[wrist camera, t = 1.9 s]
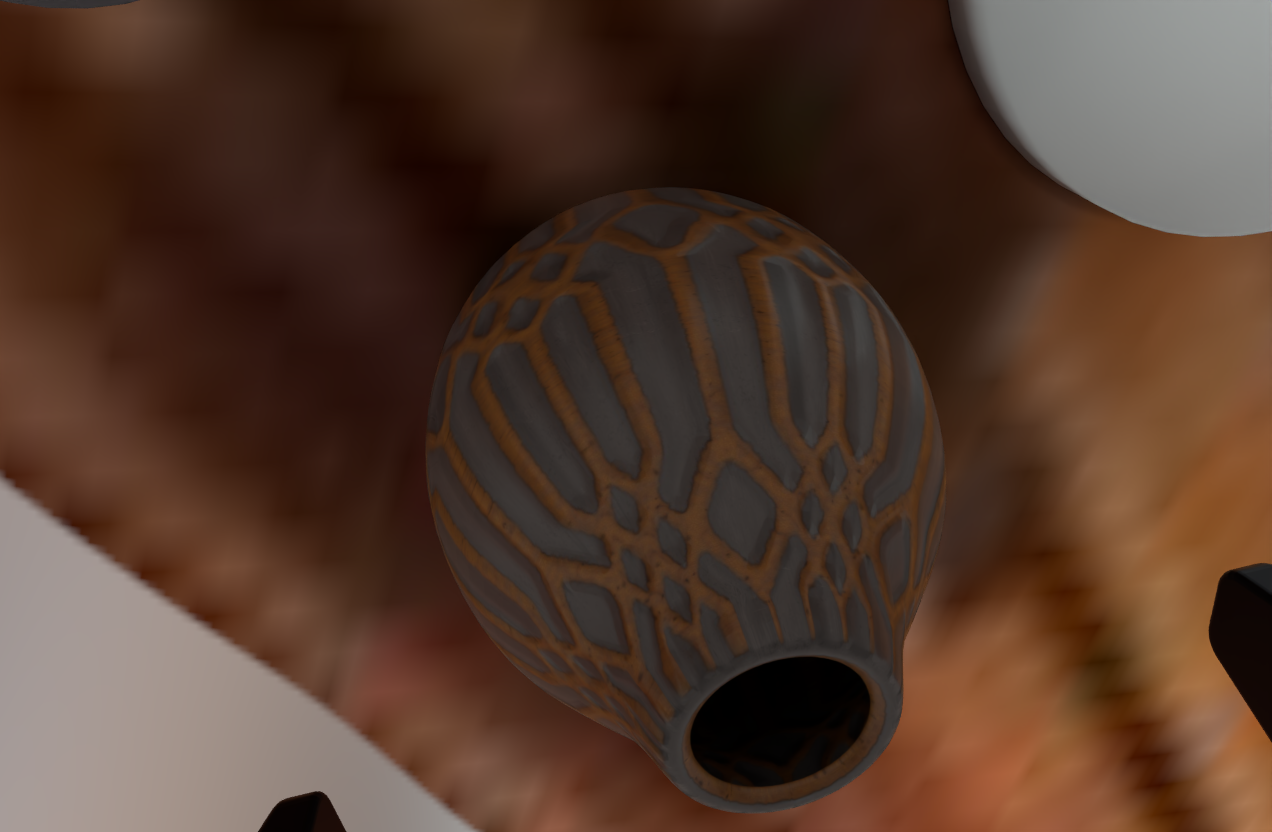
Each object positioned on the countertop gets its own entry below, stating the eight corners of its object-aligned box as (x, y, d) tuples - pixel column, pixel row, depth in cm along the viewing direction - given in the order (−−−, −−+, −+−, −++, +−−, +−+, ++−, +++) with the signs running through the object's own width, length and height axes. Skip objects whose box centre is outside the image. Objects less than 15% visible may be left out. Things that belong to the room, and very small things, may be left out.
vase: (495, 75, 14) (544, 323, 6) (892, 208, 16) (1274, 512, 9) (388, 460, 17) (337, 937, 9) (736, 530, 19) (919, 965, 12)
